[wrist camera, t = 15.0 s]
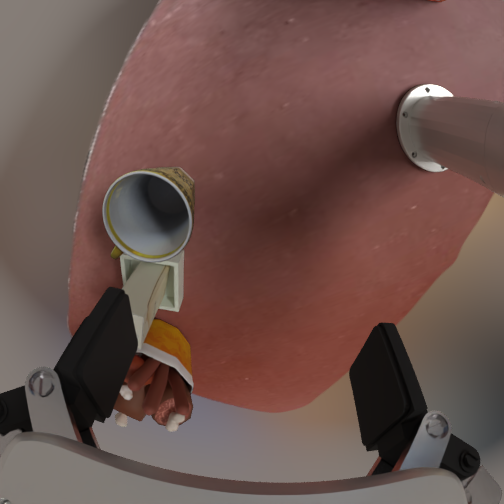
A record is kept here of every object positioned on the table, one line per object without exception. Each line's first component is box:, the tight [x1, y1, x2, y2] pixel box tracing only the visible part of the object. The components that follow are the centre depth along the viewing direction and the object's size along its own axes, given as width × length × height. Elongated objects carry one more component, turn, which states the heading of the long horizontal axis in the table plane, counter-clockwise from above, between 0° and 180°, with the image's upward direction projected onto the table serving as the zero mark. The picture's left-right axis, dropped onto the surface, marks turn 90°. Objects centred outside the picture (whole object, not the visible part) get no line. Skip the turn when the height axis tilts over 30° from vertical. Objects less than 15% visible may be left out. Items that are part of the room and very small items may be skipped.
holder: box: [120, 250, 184, 312], centre depth 39 cm, size 9×9×4 cm
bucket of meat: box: [113, 319, 193, 432], centre depth 39 cm, size 20×16×20 cm
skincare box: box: [122, 261, 170, 350], centre depth 35 cm, size 6×4×12 cm
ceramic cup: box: [102, 167, 195, 263], centre depth 31 cm, size 13×10×10 cm
